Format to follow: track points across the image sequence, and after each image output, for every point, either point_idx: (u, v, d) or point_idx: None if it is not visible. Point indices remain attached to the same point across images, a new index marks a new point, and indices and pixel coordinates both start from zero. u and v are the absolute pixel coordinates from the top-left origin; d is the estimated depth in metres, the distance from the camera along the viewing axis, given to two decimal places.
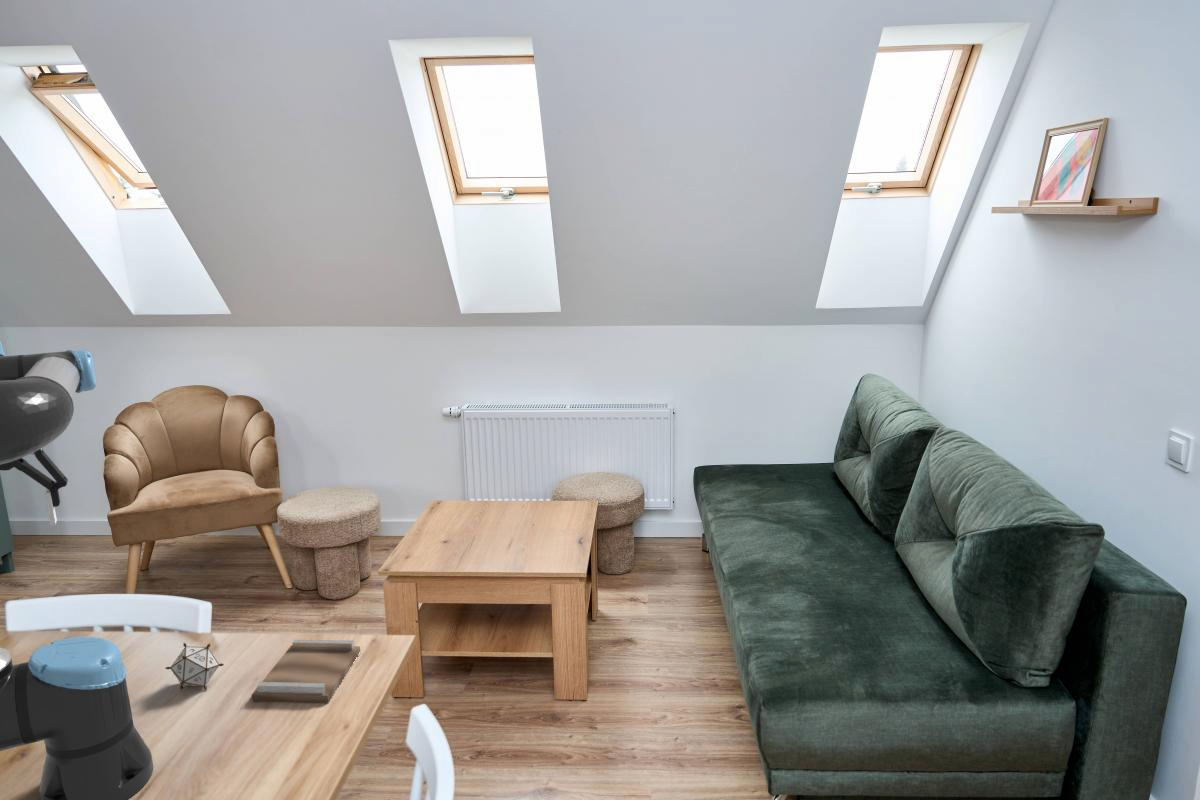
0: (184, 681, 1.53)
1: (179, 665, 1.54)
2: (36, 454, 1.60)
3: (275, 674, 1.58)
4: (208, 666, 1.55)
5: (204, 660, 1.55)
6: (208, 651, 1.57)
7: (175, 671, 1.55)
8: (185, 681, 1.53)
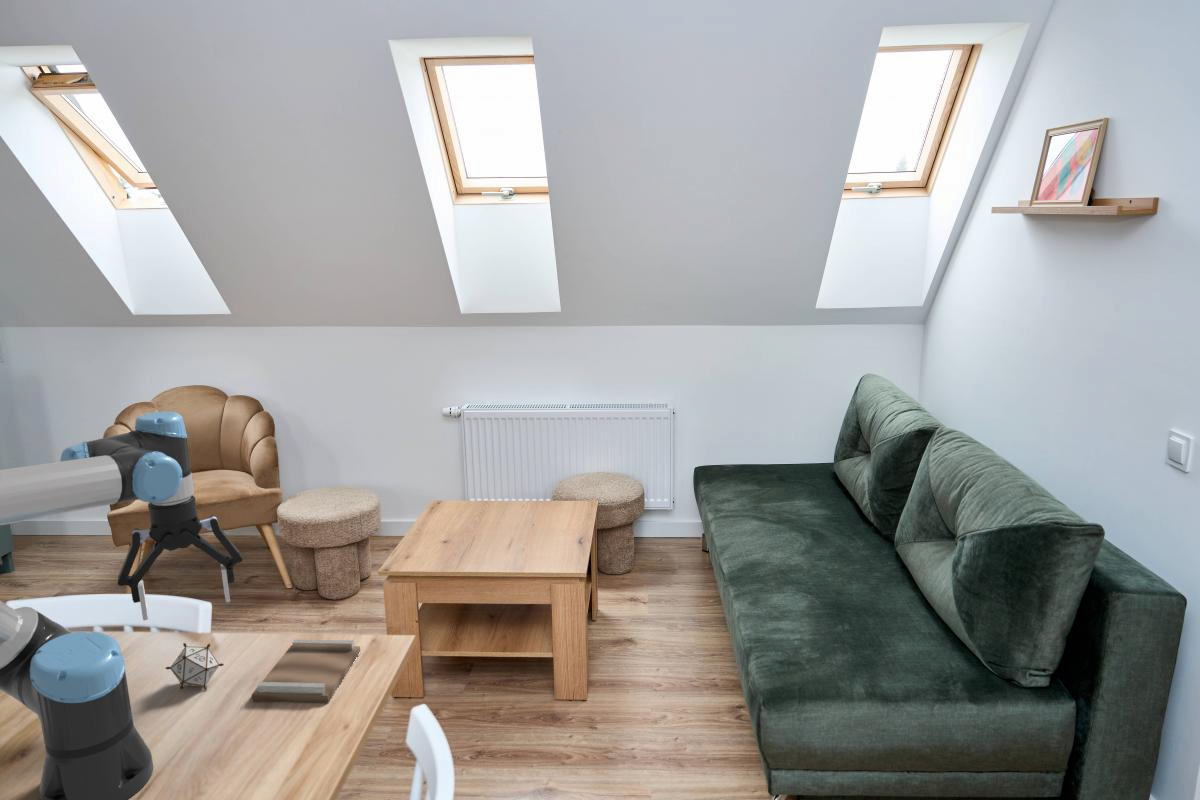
0: (184, 681, 1.53)
1: (179, 665, 1.54)
2: (214, 530, 1.53)
3: (275, 674, 1.58)
4: (208, 666, 1.55)
5: (204, 660, 1.55)
6: (208, 651, 1.57)
7: (175, 671, 1.55)
8: (185, 681, 1.53)
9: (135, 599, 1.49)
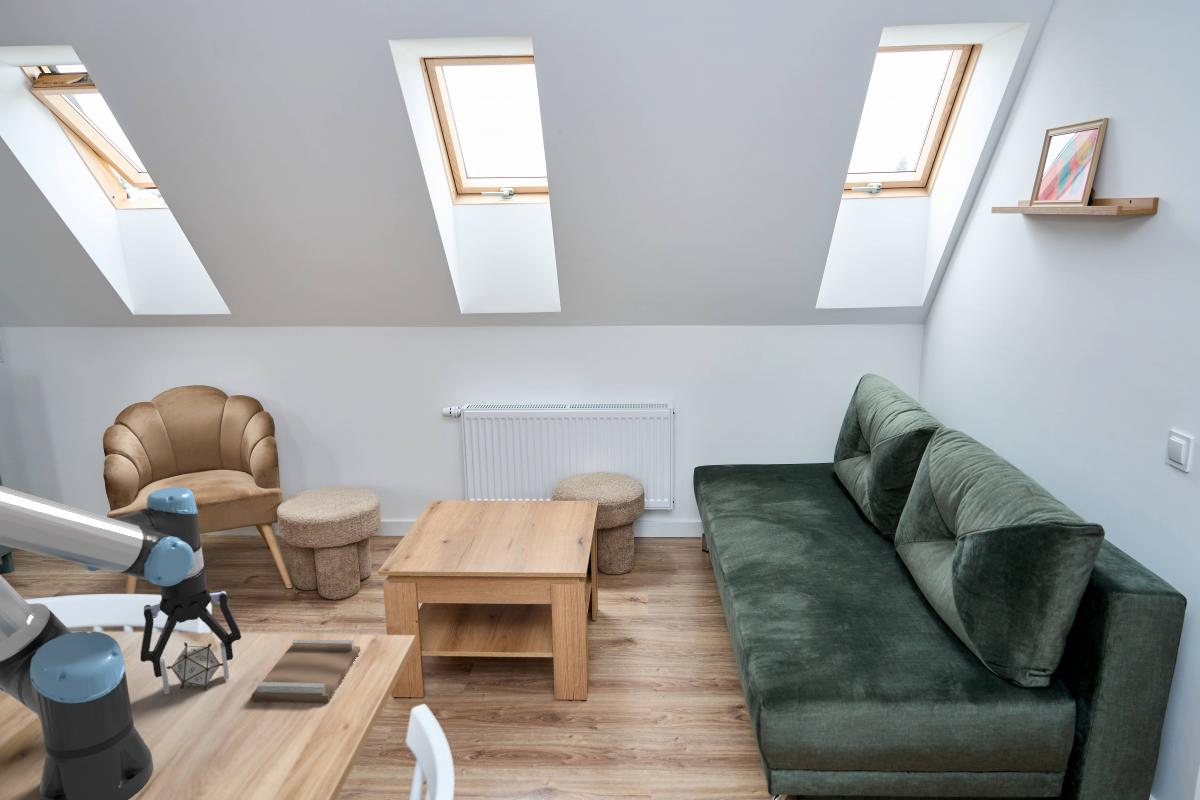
0: (185, 681, 1.53)
1: (180, 665, 1.54)
2: (221, 605, 1.56)
3: (275, 674, 1.58)
4: (209, 666, 1.55)
5: (204, 659, 1.55)
6: (209, 651, 1.57)
7: (176, 671, 1.55)
8: (186, 681, 1.54)
9: (157, 674, 1.53)
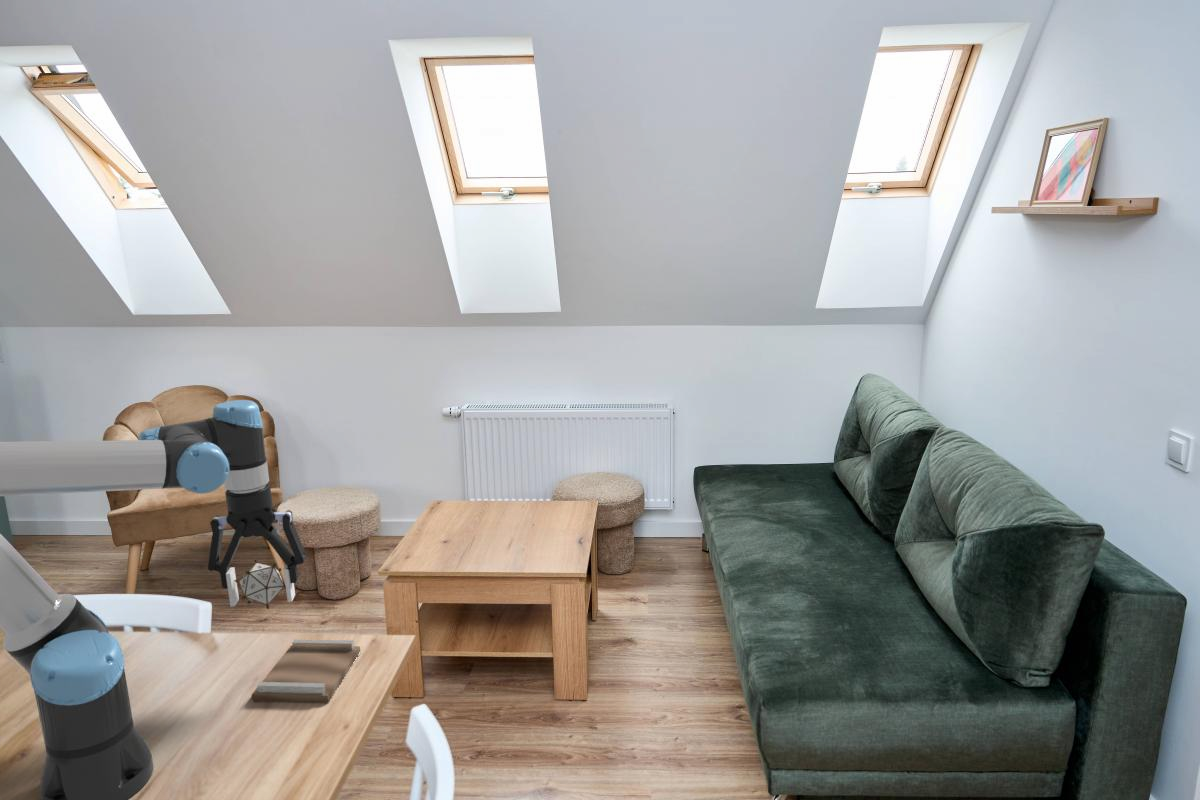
0: (245, 596, 1.52)
1: (244, 579, 1.53)
2: (284, 525, 1.52)
3: (275, 674, 1.58)
4: (269, 585, 1.53)
5: (266, 578, 1.53)
6: (273, 570, 1.55)
7: (241, 585, 1.54)
8: (246, 596, 1.52)
9: (224, 585, 1.54)
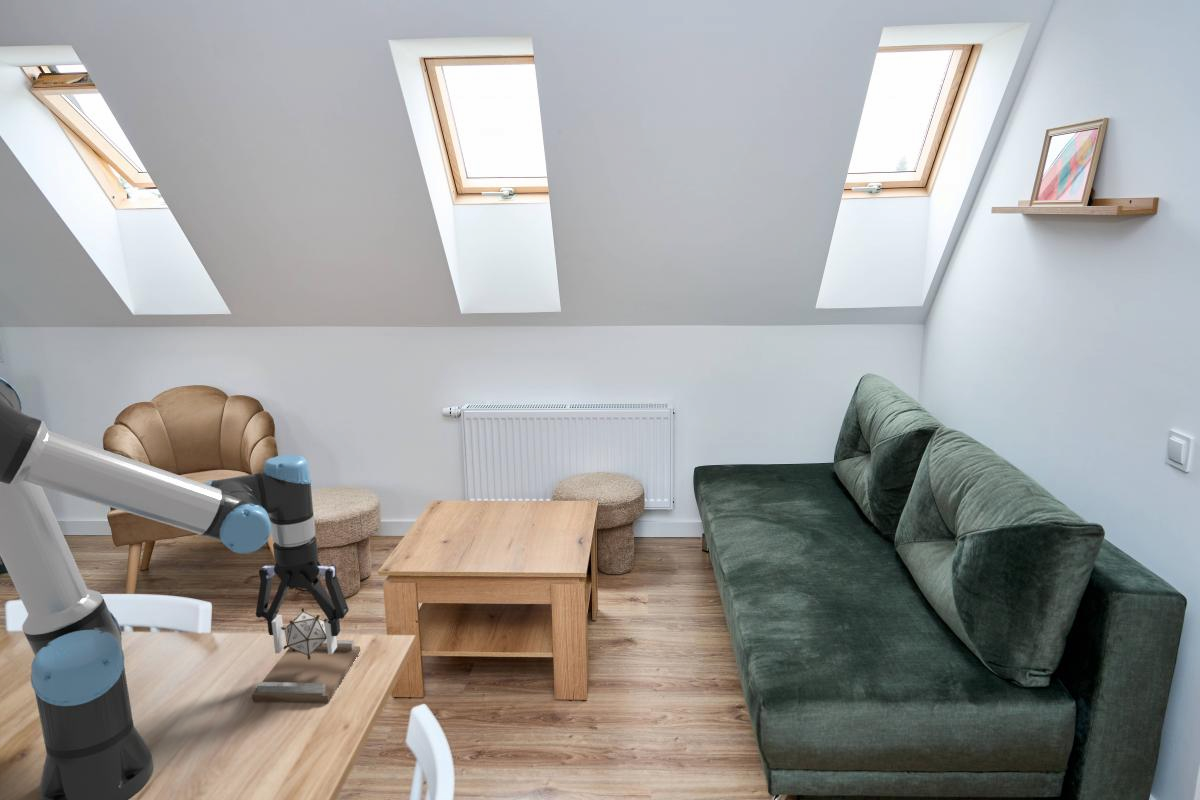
0: (288, 645, 1.55)
1: (288, 628, 1.57)
2: (326, 580, 1.54)
3: (275, 674, 1.58)
4: (311, 637, 1.55)
5: (308, 630, 1.56)
6: (316, 622, 1.57)
7: (286, 633, 1.57)
8: (289, 646, 1.55)
9: (270, 632, 1.58)
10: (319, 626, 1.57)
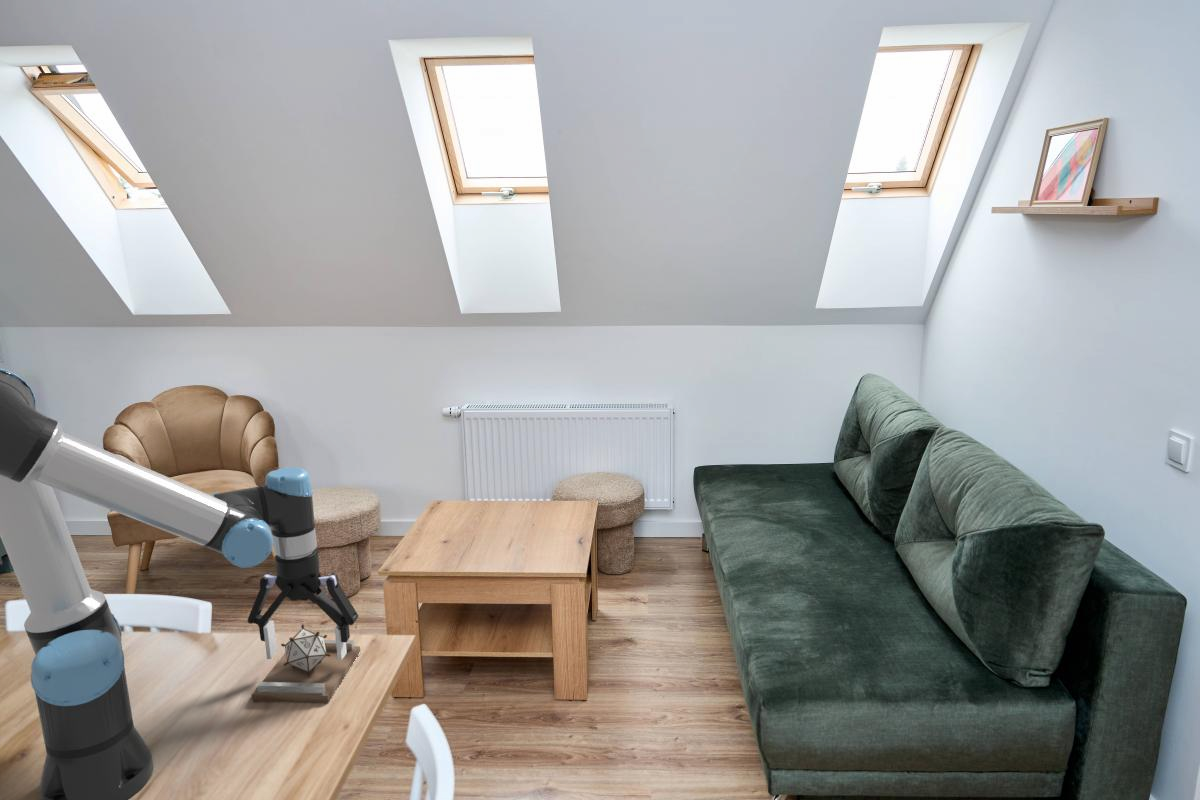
0: (288, 662, 1.56)
1: (288, 645, 1.57)
2: (329, 589, 1.55)
3: (275, 674, 1.58)
4: (311, 654, 1.56)
5: (308, 646, 1.56)
6: (316, 639, 1.58)
7: (286, 650, 1.58)
8: (289, 663, 1.56)
9: (262, 638, 1.58)
10: (319, 643, 1.58)
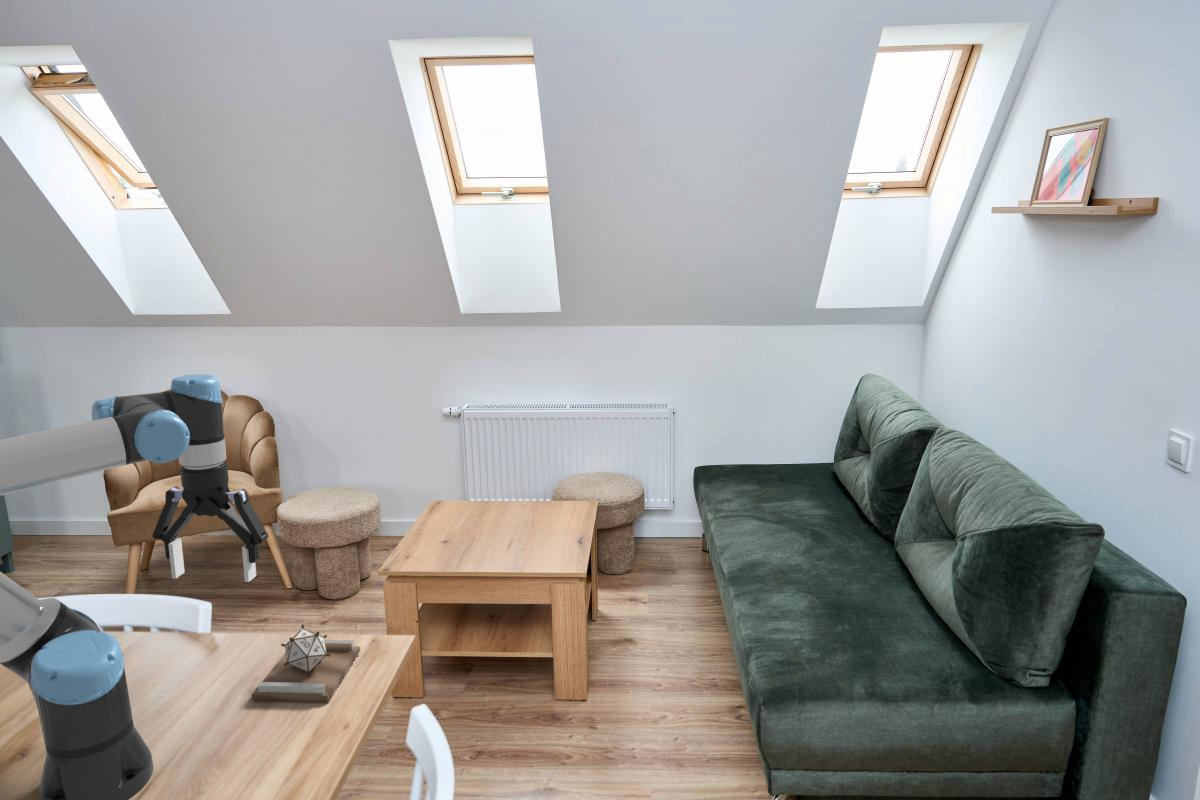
0: (288, 662, 1.56)
1: (288, 645, 1.57)
2: (236, 504, 1.47)
3: (275, 674, 1.58)
4: (311, 654, 1.56)
5: (308, 646, 1.56)
6: (316, 639, 1.58)
7: (286, 650, 1.58)
8: (289, 663, 1.56)
9: (168, 555, 1.51)
10: (319, 643, 1.58)
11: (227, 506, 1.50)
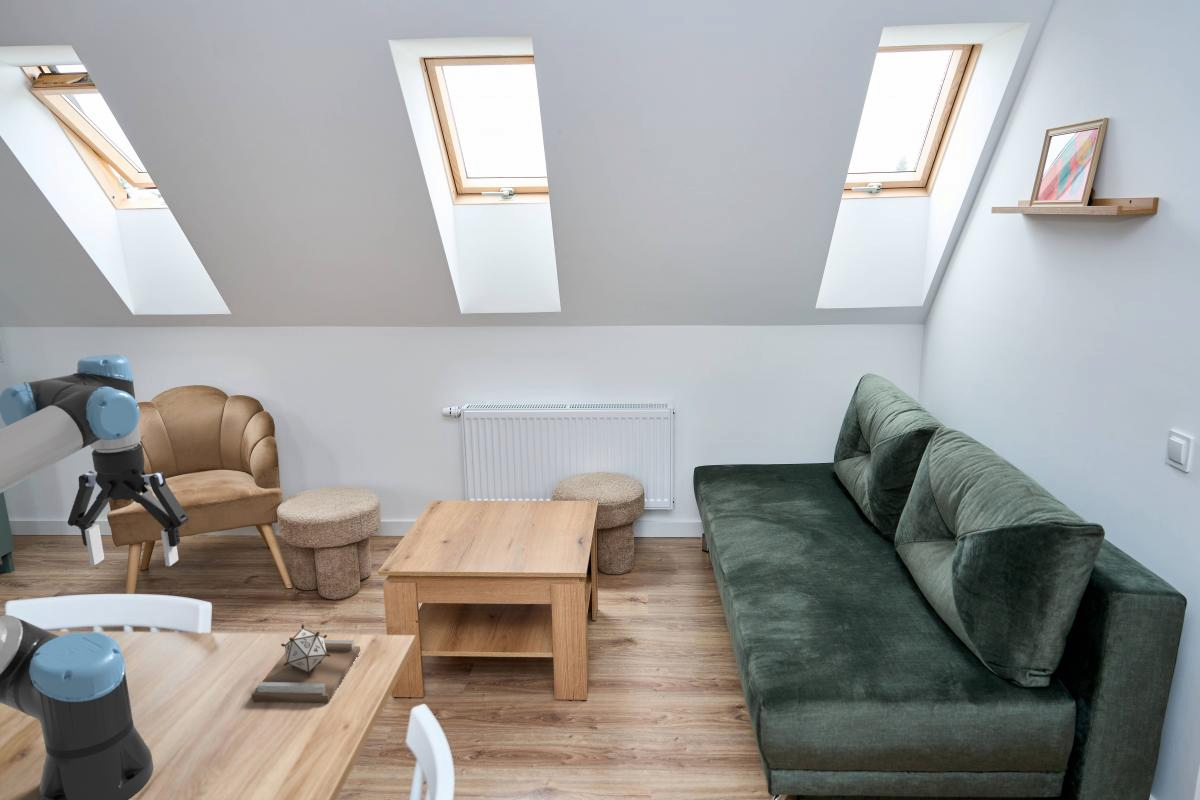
0: (288, 662, 1.56)
1: (288, 645, 1.57)
2: (153, 487, 1.43)
3: (275, 674, 1.58)
4: (311, 654, 1.56)
5: (308, 646, 1.56)
6: (316, 639, 1.58)
7: (286, 650, 1.58)
8: (289, 663, 1.56)
9: (85, 542, 1.47)
10: (319, 643, 1.58)
11: (144, 489, 1.46)
